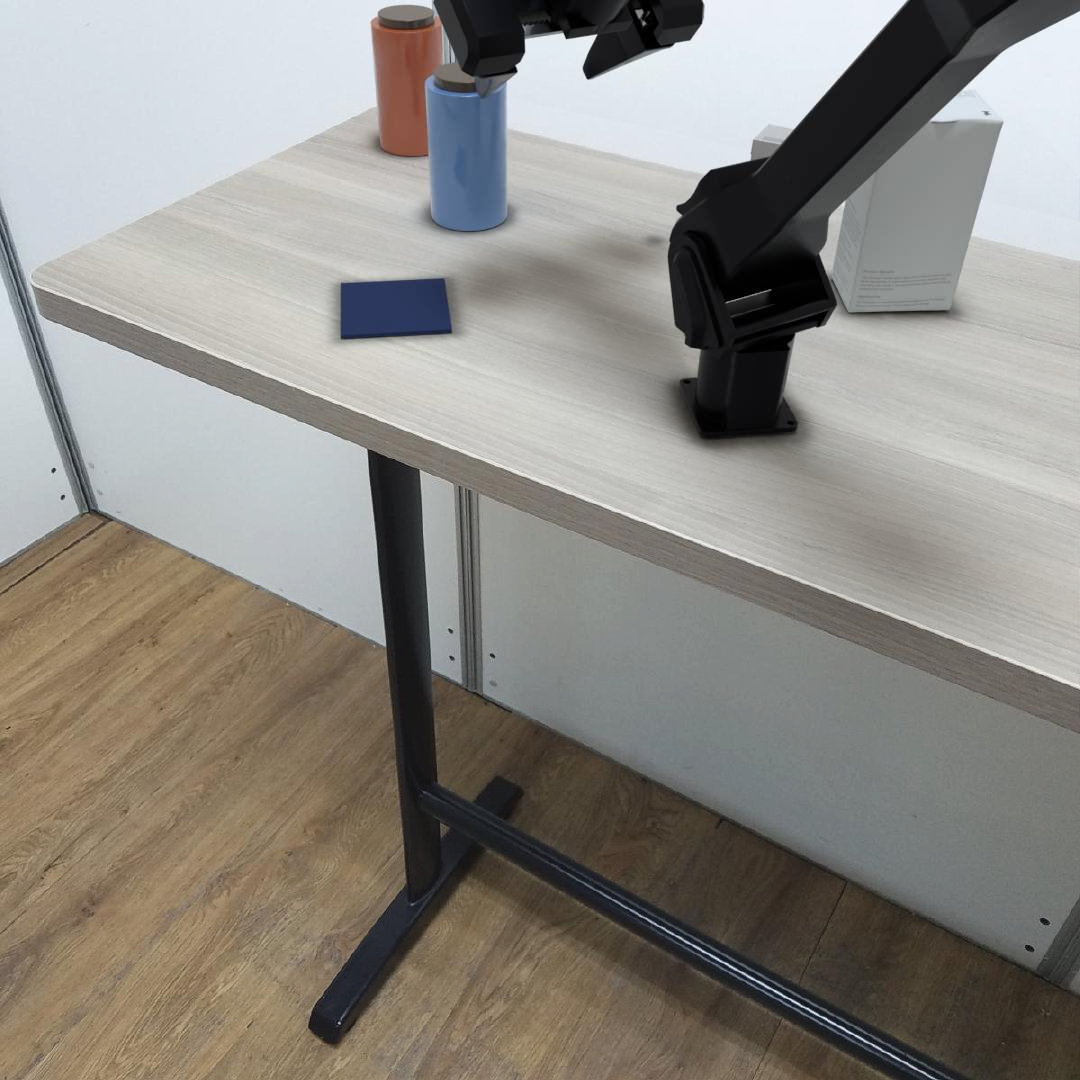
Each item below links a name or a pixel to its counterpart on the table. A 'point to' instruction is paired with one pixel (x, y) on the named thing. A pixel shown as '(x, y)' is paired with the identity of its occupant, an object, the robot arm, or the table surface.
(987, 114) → the cosmetic box
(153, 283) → the table surface
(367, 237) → the table surface
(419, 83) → the terracotta jar
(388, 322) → the blue mat
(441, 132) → the blue jar
